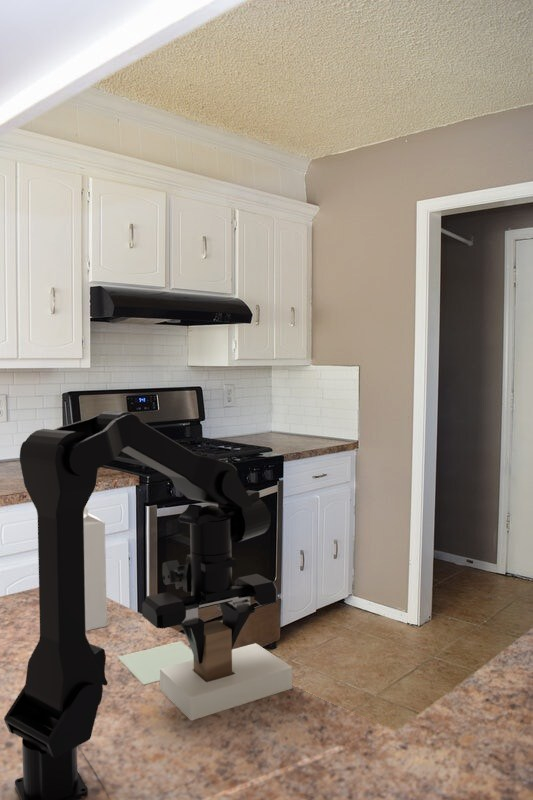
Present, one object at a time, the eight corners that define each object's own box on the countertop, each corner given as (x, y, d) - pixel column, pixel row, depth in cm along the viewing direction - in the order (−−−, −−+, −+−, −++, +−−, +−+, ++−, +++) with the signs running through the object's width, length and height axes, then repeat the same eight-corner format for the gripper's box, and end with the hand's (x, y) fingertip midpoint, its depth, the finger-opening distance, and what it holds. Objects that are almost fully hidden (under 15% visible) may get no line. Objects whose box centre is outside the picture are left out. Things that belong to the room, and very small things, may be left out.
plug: (232, 691, 95) (231, 629, 95) (207, 699, 93) (205, 635, 93) (218, 680, 99) (218, 620, 98) (194, 688, 97) (193, 626, 96)
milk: (73, 633, 119) (69, 509, 117) (65, 622, 124) (61, 502, 122) (108, 626, 122) (104, 504, 120) (98, 615, 127) (95, 498, 125)
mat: (211, 669, 104) (211, 665, 104) (143, 688, 98) (143, 684, 98) (180, 644, 113) (180, 641, 113) (117, 660, 108) (117, 656, 108)
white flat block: (292, 691, 97) (292, 667, 97) (190, 724, 89) (190, 697, 88) (256, 665, 105) (255, 643, 105) (160, 692, 97) (159, 668, 97)
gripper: (240, 528, 107) (241, 626, 108) (126, 547, 97) (129, 654, 98) (278, 544, 97) (279, 651, 98) (157, 566, 87) (159, 684, 88)
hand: (212, 658), depth 96 cm, fingers closed on plug, 4 cm apart
